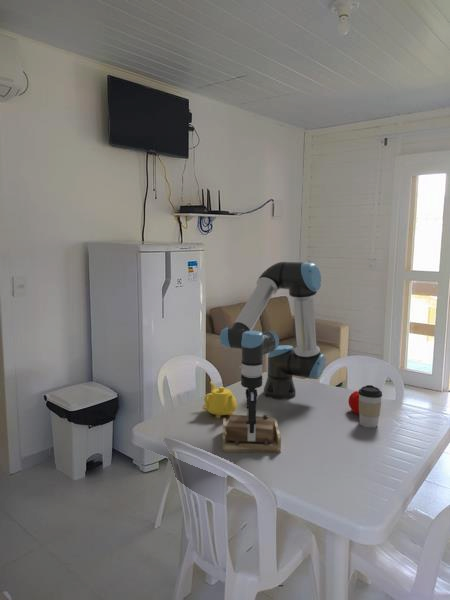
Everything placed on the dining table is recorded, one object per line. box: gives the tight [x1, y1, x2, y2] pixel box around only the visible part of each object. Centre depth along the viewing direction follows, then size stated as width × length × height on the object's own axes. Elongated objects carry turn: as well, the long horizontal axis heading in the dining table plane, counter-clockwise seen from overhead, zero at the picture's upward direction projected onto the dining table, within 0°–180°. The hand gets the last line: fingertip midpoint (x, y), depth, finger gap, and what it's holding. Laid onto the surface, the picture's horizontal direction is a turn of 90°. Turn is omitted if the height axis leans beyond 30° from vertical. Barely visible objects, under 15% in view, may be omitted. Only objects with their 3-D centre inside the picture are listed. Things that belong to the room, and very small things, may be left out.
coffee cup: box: [358, 384, 383, 428], centre depth 178 cm, size 9×9×15 cm
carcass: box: [221, 417, 282, 454], centre depth 162 cm, size 16×20×6 cm
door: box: [226, 414, 275, 443], centre depth 161 cm, size 11×16×6 cm
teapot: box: [202, 380, 238, 419], centre depth 187 cm, size 20×15×12 cm
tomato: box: [347, 390, 359, 416], centre depth 191 cm, size 11×12×9 cm
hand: (250, 433), depth 162 cm, fingers closed on door, 11 cm apart
